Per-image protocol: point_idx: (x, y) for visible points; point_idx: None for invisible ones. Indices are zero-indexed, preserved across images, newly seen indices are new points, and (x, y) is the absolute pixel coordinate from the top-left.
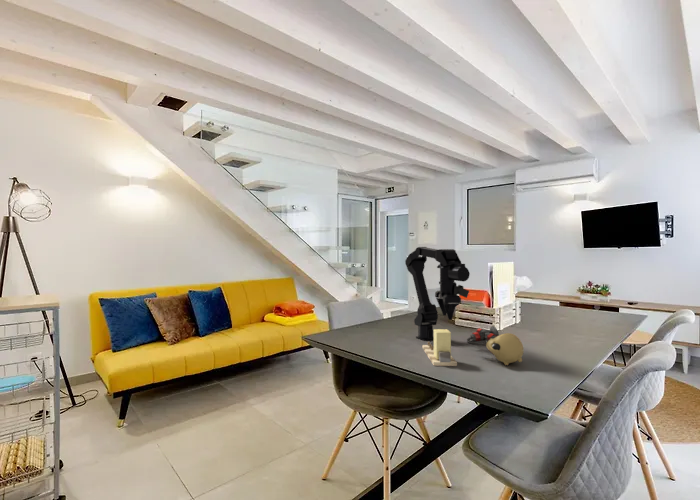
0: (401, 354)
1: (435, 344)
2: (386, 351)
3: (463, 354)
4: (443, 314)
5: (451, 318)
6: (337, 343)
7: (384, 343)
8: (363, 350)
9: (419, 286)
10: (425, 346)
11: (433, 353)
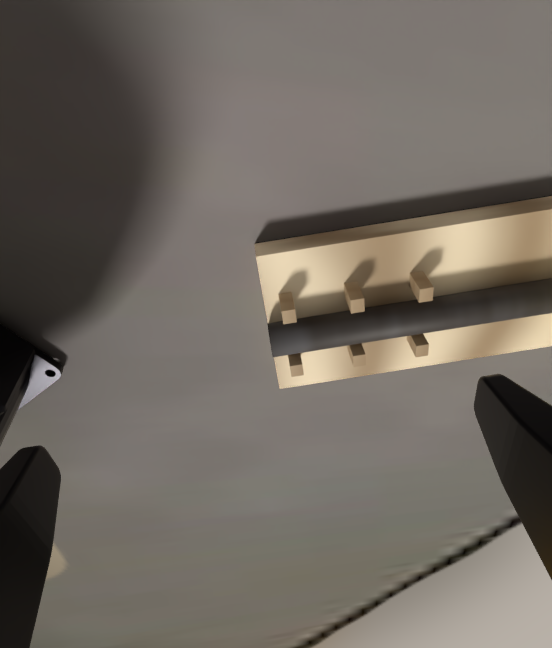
0: (431, 456)
1: None
2: (375, 510)
3: (460, 56)
4: (56, 490)
5: (517, 392)
6: (263, 639)
7: (218, 534)
8: (362, 571)
9: None
10: (324, 371)
11: (507, 323)
